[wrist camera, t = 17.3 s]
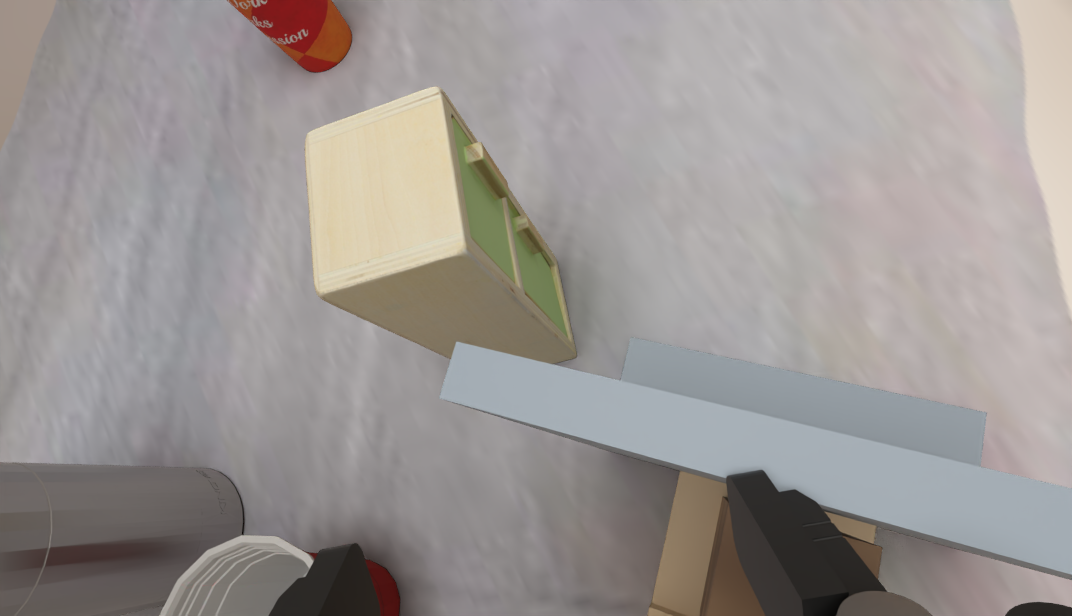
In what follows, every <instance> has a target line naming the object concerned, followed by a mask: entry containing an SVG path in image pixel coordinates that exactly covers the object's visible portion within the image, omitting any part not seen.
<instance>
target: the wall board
mask: <svg viewBox="0 0 1072 616" xmlns="http://www.w3.org/2000/svg"><path fill="white" fill-rule="evenodd" d="M439 398H440V399H443V400H446V401H450V402H453V403H456V404H459V405H462V406H466V407H469V408H472V409H475V410H479V411H482V412H485V413H488V414H491V415H495V416H498V417H501V418H504V419H508V420H511V421H514V422H517V423H520V424H524V425H527V426H530V427H533V428H536V429H540V430H543V431H546V432H549V433H553V434H556V435H559V436H562V437H565V438H569V439H572V440H575V441H578V442H582V443H585V444H588V445H591V446H594V447H598V448H601V449H604V450H607V451H611V452H614V453H618V454H622V455H625V456H629V457H632V458H636V459H639V460H643V461H646V462H650V463H653V464H657V465H661V466H664V467H668V468H671V469H675V470H678V471H680V474H679V478H678V483H677V488H676V492H675V497H674V501H673V506H672V511H671V515H670V520H669V524H668V529H667V533H666V538H665V543H664V547H663V552H662V556H661V561H660V565H659V570H658V575H657V579H656V584H655V588H654V593H653V598H652V602H651V604H650V606H649V610H648V615H647V616H700V607H701V602H702V597H703V592H704V587H705V582H706V577H707V572H708V567H709V562H710V557H711V552H712V547H713V542H714V537H715V532H716V527H717V522H718V517H719V512H720V507H721V502H722V496H724V497H727V498H728V493H727V485H726V477H727V476H728V475H734V474H739V473H745V472H750V471H756V470H761V469H762V470H763V471H765V473H766V474H767V476H768V477H769V478H770V480H771V481H772V483H773V484H774V486H775V487H776V488H777V490H778V491H779V492H782V491H787V490H793V489H796V490H798V491H799V492H801V493H803V494H804V495H806V496H808V497H809V498H811V499H813V500H814V501H816V502H817V503H818V504H819V505H820V507H821V508H822V509H823V510H824V512H825V513H826V514H827V516H828V517H829V518H830V519H831V523H834V524H835V526H836V527H837V528H838V530H839V531H840V532H843V533H845V534H848V535H851V536H853V537H856V538H859V539H861V540H864V541H867V542H869V543H872V544H874V538H875V531H876V526H877V527H880V528H884V529H888V530H891V531H895V532H898V533H902V534H905V535H909V536H912V537H916V538H919V539H923V540H927V541H930V542H934V543H937V544H941V545H944V546H948V547H951V548H955V549H958V550H962V551H966V552H970V553H973V554H977V555H981V556H984V557H988V558H992V559H995V560H999V561H1003V562H1007V563H1010V564H1014V565H1018V566H1021V567H1025V568H1029V569H1032V570H1036V571H1040V572H1044V573H1047V574H1051V575H1055V576H1058V577H1062V578H1066V579H1070V580H1072V489H1071V488H1067V487H1063V486H1059V485H1055V484H1050V483H1046V482H1042V481H1038V480H1034V479H1030V478H1025V477H1021V476H1017V475H1013V474H1009V473H1004V472H1000V471H996V470H992V469H988V468H984V467H980V466H981V457H982V449H983V440H984V431H985V423H986V414H987V413H986V412H981V411H977V410H972V409H967V408H963V407H958V406H953V405H948V404H944V403H939V402H934V401H930V400H925V399H920V398H915V397H911V396H906V395H901V394H897V393H892V392H887V391H883V390H878V389H873V388H868V387H864V386H859V385H854V384H850V383H845V382H840V381H835V380H831V379H826V378H821V377H817V376H812V375H807V374H803V373H798V372H793V371H788V370H784V369H779V368H774V367H770V366H765V365H760V364H755V363H751V362H746V361H741V360H737V359H732V358H727V357H723V356H718V355H713V354H708V353H704V352H699V351H694V350H690V349H685V348H680V347H675V346H671V345H666V344H661V343H657V342H652V341H647V340H643V339H638V338H633V337H631V338H630V342H629V346H628V350H627V355H626V359H625V363H624V367H623V371H622V375H621V379H620V380H616V379H611V378H607V377H603V376H599V375H595V374H591V373H586V372H582V371H578V370H574V369H570V368H565V367H561V366H557V365H553V364H549V363H545V362H540V361H536V360H532V359H528V358H524V357H519V356H515V355H511V354H507V353H503V352H499V351H494V350H490V349H486V348H482V347H478V346H473V345H469V344H465V343H461V342H457V341H456V344H455V348H454V351H453V354H452V357H451V360H450V364H449V367H448V370H447V373H446V377H445V380H444V383H443V386H442V390H441V393H440V396H439Z"/></svg>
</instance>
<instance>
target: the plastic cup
mask: <svg viewBox="0 0 1072 616" xmlns="http://www.w3.org/2000/svg"><path fill="white" fill-rule="evenodd" d="M317 554H318V553H309V552H305V551H304V550H301V549H299V548H297V547H296V546H294V545H292V544H290V543H289V542H287V541H285V540H283V539H282V538H279V537H277V536H249V535H241V536H239V537H236V538H234V539H232V540H230V541H227V542H225V543H223V544H220V545H218V546H216V547H213V548H211V549H209V550H207V551H206V552H205V553H204V554H203V555H202V556H201V557H200V558H199V559H198V560H197V561H196V562H195V563H194V564H193V565H192V566H191V567H190V568H189V569H188V570H187V571H186V572H185V573H184V574H183V575H182V576H181V577H180V578H179V579H178V580H177V582H176V584H175V586H174V588H173V590H172V592H171V594H170V595H169V597H168V599H167V601H166V603H165V605H164V607H163V609H162V611H161V613H160V615H159V616H269V614H270V612H271V610H272V609H273V607H274V605H275V603H276V601H277V600H278V598H279V597H280V596H281V595H282V594H283V593H284V592H285V591H286V590H287V589H288V588H289V587H290V586H291V585H292V584H293V583H294V582H295V581H296V580H297V579H298V578H302V577H306V575H307V573H308V571H309V569H310V567H311V565H312V564H313V562H314V560H315V558H316V556H317ZM365 561H366V564H367V567H368V570H369V573H370V576H371V579H372V582H373V585H374V588H375V591H376V594H377V597H378V600H379V604H380V613H381V616H399V607H400V597H399V593H398V589H397V586H396V582H395V581H394V579H393V578H392V577H391V575H390V574H389V572H388V571H387V570H386V569H385V568H383V567H382V566H380V565H378V564H376V563H375V562H372V561H370V560H365Z"/></svg>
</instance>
